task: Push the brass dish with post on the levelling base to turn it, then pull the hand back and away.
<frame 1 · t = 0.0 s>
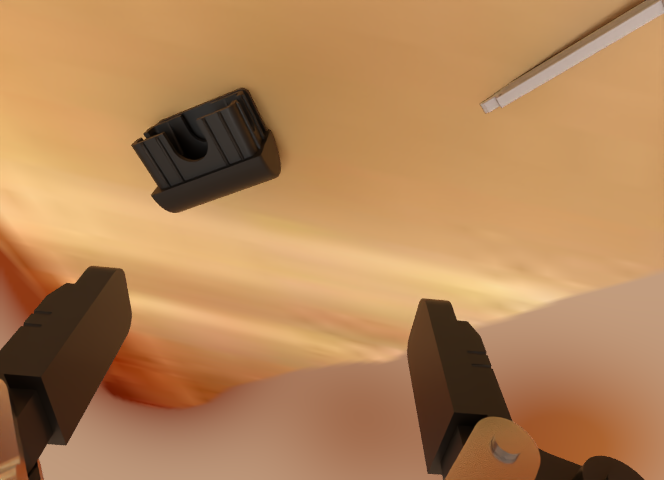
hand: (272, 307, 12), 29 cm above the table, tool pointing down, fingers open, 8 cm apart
end cap: (220, 140, 40), on the table
caliper: (595, 27, 35), on the table
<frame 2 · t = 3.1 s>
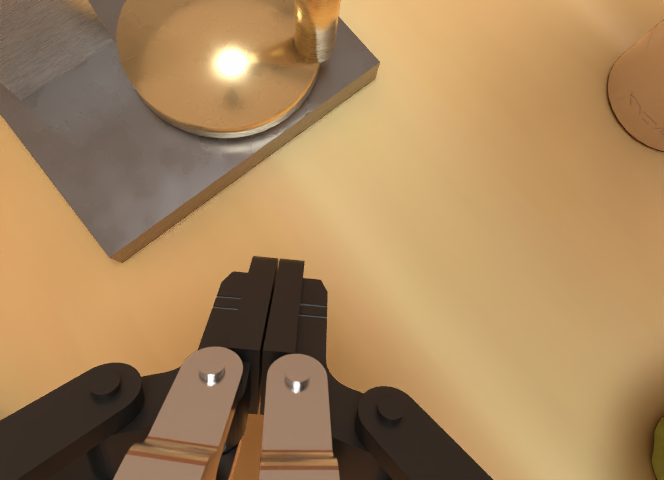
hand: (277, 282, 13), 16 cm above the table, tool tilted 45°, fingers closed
levelling base: (171, 61, 32), on the table
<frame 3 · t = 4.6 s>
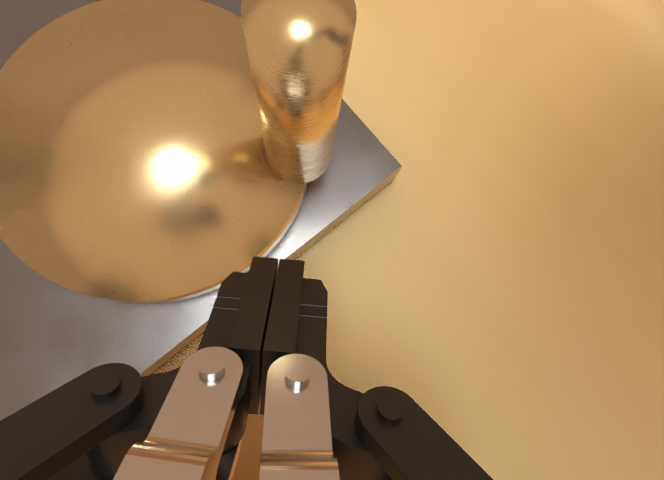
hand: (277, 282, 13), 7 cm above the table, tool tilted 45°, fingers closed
levelling base: (85, 160, 21), on the table
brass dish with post: (114, 92, 14), point 7 cm above the table, hinge at 0.0°
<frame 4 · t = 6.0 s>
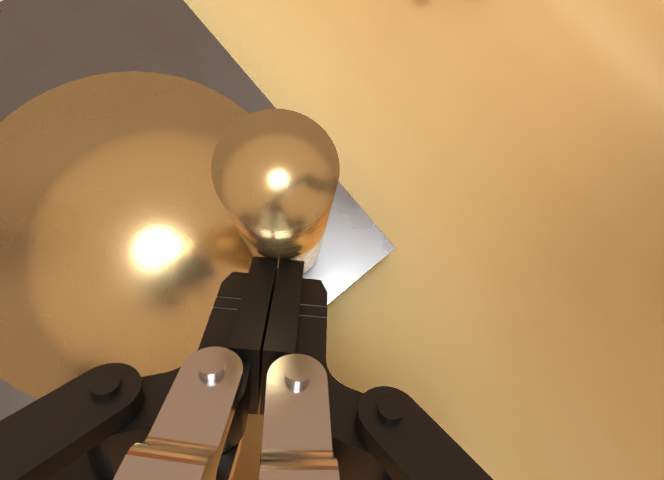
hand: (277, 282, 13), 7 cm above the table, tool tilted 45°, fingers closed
levelling base: (63, 237, 20), on the table
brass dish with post: (85, 203, 13), point 7 cm above the table, hinge at 0.0°, touching gripper
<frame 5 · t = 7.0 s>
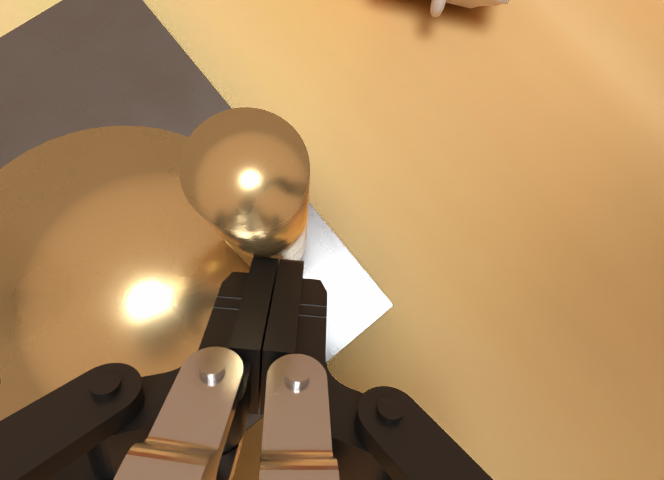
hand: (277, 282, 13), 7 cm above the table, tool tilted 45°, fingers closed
levelling base: (54, 288, 20), on the table
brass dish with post: (68, 286, 13), point 7 cm above the table, hinge at 25.7°, touching gripper
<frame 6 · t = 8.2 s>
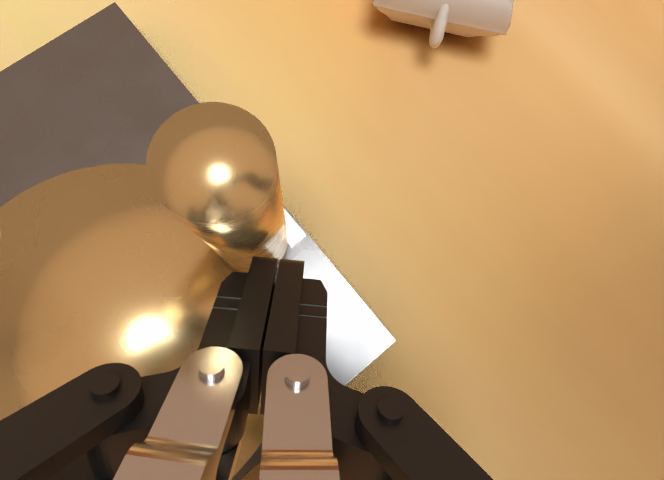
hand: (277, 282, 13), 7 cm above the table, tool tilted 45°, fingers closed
levelling base: (52, 325, 19), on the table
white rounded piece: (432, 2, 24), on the table
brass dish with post: (67, 336, 13), point 7 cm above the table, hinge at 41.6°
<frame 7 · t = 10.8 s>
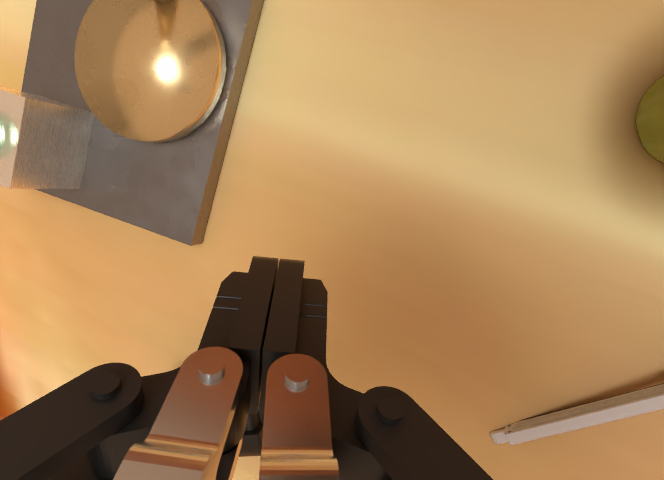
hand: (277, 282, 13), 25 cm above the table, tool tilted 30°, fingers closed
levelling base: (134, 96, 40), on the table
end cap: (236, 393, 42), on the table
caliper: (611, 390, 35), on the table
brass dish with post: (116, 46, 32), point 7 cm above the table, hinge at 41.6°
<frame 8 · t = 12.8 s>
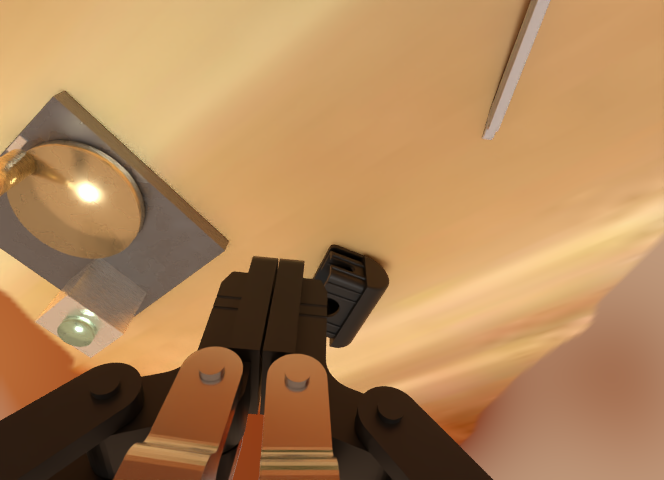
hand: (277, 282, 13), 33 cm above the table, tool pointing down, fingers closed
levelling base: (98, 222, 50), on the table
end cap: (342, 279, 55), on the table
caliper: (517, 28, 40), on the table
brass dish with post: (57, 222, 42), point 7 cm above the table, hinge at 41.6°
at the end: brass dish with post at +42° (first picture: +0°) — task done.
